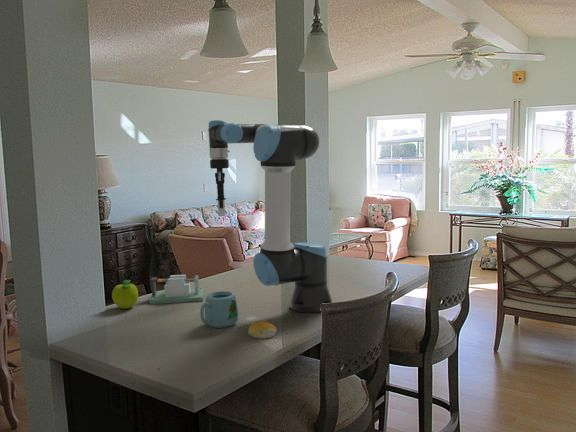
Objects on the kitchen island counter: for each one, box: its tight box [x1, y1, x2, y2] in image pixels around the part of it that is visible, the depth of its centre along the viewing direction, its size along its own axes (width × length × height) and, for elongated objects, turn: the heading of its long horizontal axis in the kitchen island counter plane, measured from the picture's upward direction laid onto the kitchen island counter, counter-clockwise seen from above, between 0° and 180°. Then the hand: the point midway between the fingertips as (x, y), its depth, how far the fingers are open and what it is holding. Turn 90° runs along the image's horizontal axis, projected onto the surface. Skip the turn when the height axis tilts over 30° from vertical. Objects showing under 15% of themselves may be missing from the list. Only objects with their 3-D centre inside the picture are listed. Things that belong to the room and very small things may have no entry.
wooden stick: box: [156, 278, 195, 283], centre depth 203 cm, size 16×2×1 cm, turn 95°
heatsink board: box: [148, 274, 206, 305], centre depth 204 cm, size 20×13×8 cm, turn 95°
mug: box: [199, 291, 239, 329], centre depth 169 cm, size 15×11×10 cm
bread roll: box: [247, 320, 278, 340], centre depth 160 cm, size 8×9×4 cm
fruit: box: [111, 279, 139, 310], centre depth 192 cm, size 9×9×10 cm
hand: (221, 215), depth 215 cm, fingers closed
